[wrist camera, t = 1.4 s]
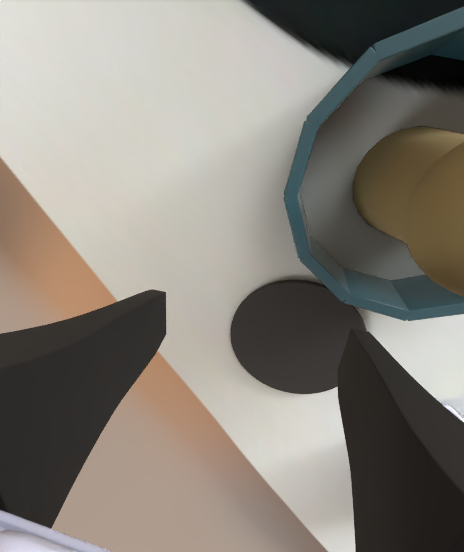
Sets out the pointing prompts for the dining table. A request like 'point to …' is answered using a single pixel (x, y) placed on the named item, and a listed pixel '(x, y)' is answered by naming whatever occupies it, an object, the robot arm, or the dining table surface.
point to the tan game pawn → (418, 198)
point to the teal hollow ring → (376, 60)
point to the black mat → (293, 335)
